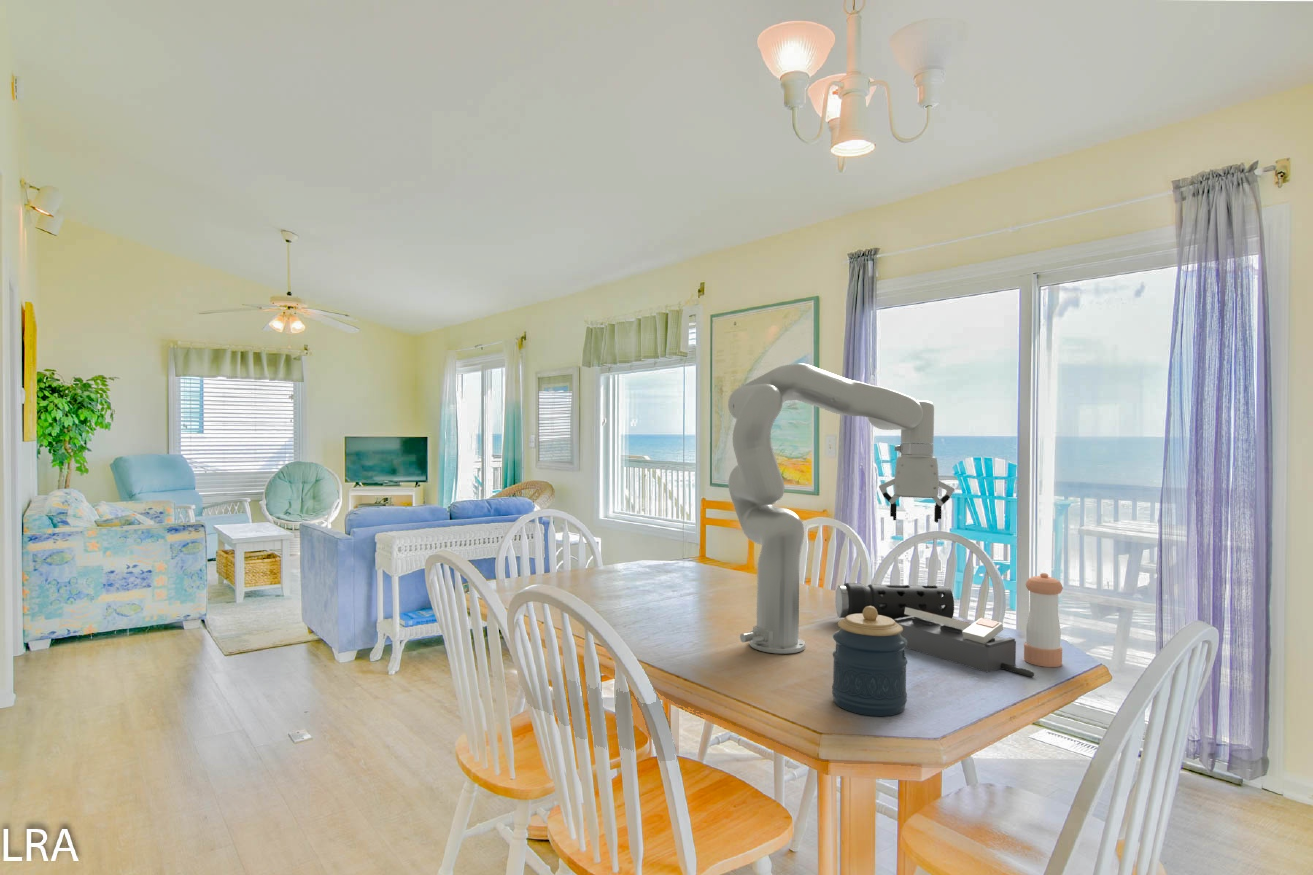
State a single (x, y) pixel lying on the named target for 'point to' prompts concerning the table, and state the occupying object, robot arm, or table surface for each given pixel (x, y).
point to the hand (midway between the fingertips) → (915, 520)
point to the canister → (869, 664)
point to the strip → (960, 646)
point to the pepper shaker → (1043, 622)
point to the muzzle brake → (893, 599)
